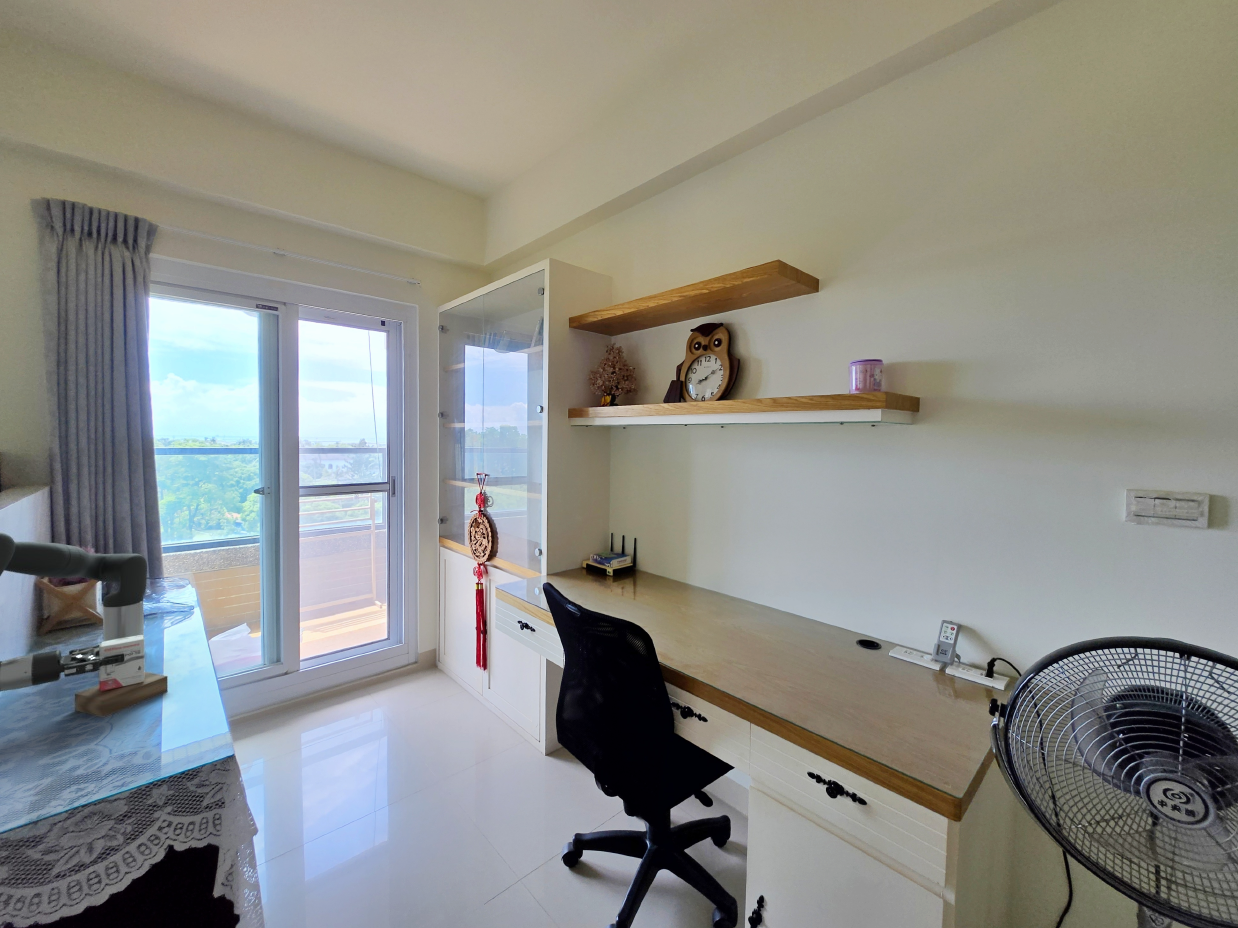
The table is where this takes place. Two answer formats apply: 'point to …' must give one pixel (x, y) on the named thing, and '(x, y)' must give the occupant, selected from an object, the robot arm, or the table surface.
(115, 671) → the ink box
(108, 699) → the walnut block
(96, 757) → the table surface
